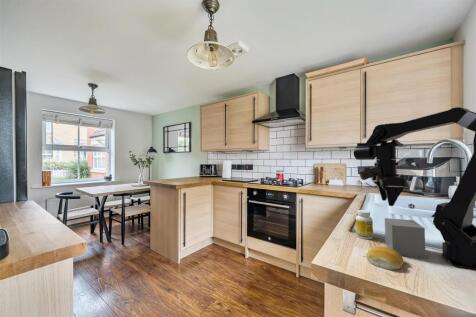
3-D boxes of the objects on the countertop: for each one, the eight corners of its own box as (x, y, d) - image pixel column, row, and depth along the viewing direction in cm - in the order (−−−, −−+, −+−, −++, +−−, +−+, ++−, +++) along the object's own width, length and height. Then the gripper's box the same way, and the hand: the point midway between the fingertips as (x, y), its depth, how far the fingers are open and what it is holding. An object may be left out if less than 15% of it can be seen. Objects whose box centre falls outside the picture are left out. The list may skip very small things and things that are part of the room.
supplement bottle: (360, 233, 77) (359, 208, 77) (375, 237, 73) (375, 211, 73) (353, 236, 74) (352, 210, 74) (369, 240, 70) (368, 213, 70)
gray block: (385, 243, 67) (384, 218, 67) (414, 247, 64) (413, 220, 64) (392, 254, 60) (391, 225, 60) (425, 258, 57) (424, 228, 57)
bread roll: (405, 262, 56) (405, 247, 56) (399, 274, 50) (398, 259, 50) (371, 252, 62) (371, 239, 62) (362, 262, 56) (361, 248, 56)
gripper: (356, 159, 82) (357, 197, 82) (363, 160, 65) (365, 207, 65) (389, 159, 78) (390, 198, 78) (406, 159, 61) (407, 210, 61)
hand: (387, 203), depth 70 cm, fingers open, 9 cm apart
